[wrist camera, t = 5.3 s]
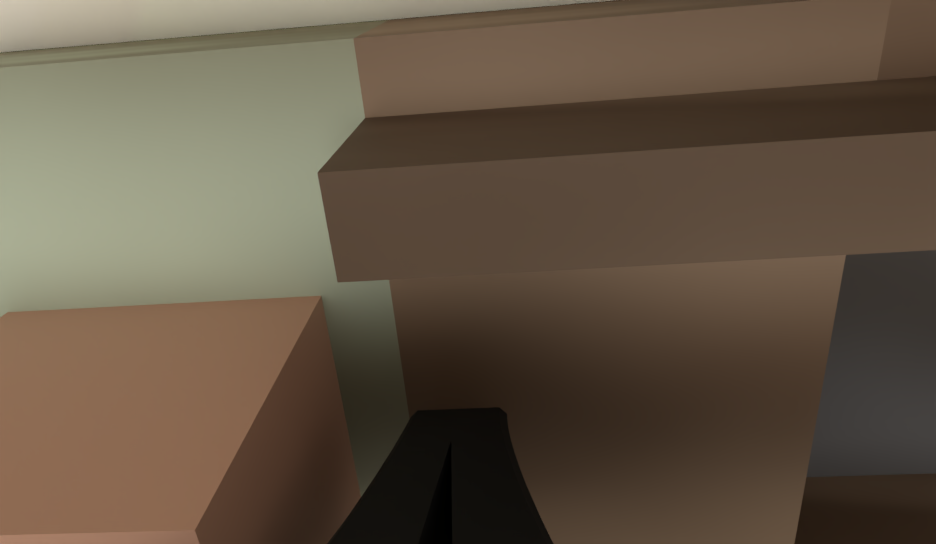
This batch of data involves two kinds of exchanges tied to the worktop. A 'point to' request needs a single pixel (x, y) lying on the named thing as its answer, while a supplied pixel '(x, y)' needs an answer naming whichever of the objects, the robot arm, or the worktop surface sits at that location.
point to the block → (173, 425)
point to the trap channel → (542, 239)
